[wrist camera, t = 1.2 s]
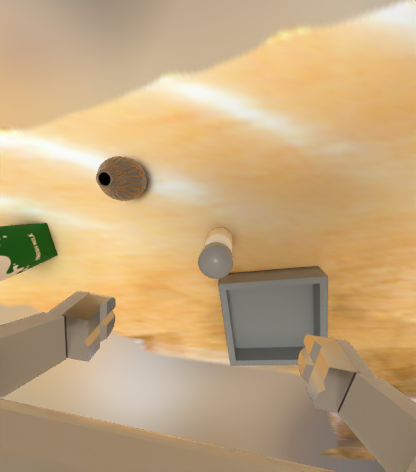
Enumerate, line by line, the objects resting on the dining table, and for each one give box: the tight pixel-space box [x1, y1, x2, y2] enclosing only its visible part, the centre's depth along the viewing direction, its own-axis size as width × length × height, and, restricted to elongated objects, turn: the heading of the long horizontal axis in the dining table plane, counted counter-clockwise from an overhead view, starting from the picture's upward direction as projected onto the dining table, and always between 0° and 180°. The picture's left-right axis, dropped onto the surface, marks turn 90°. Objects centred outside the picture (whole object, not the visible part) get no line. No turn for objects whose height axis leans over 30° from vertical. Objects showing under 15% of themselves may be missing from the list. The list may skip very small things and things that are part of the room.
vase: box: [96, 156, 147, 201], centre depth 32 cm, size 7×7×9 cm
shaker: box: [198, 228, 233, 279], centre depth 32 cm, size 5×5×11 cm
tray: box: [218, 266, 328, 366], centre depth 38 cm, size 18×18×4 cm
